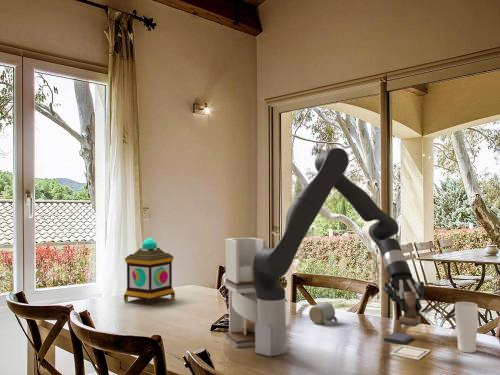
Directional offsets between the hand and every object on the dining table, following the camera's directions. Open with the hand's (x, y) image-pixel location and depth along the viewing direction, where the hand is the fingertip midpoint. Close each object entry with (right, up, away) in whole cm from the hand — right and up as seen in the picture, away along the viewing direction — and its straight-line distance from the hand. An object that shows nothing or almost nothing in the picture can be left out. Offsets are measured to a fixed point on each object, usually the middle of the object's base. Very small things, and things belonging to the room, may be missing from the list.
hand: (412, 310), depth 155 cm
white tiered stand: (-52, -15, +16) cm, 57 cm away
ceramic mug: (-22, -15, +39) cm, 47 cm away
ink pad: (0, -14, +16) cm, 21 cm away
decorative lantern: (-99, -16, +83) cm, 131 cm away
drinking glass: (+18, -14, +3) cm, 23 cm away
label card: (0, -14, +2) cm, 14 cm away
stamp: (0, -5, +2) cm, 5 cm away
